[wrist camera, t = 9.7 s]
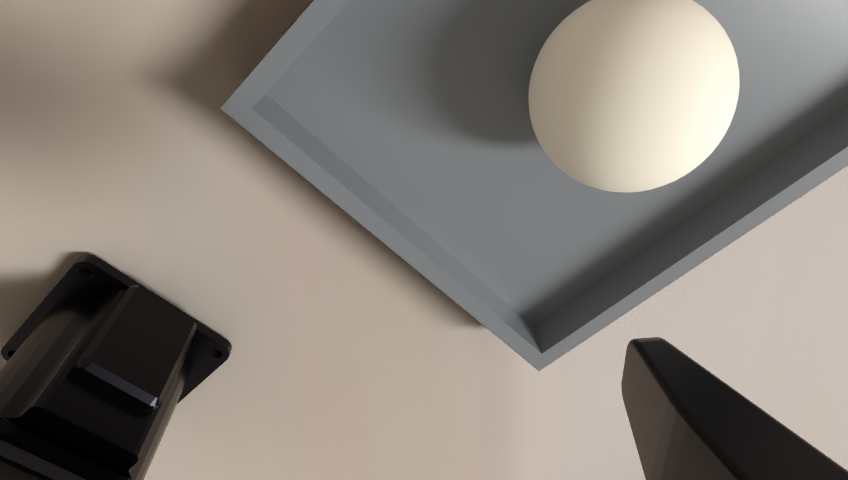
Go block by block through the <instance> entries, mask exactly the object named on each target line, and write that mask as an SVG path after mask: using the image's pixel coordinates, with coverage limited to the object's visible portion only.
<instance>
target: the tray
mask: <svg viewBox="0 0 848 480" xmlns="http://www.w3.org/2000/svg"><path fill="white" fill-rule="evenodd" d="M589 1H591V0H313V1H312V2H311V3H310V4H309V5H308V6H307V8H306V9H305V10H304V11H303V12H302V13H301V15H300V16H299V17H298V18H297V19H296V20H295V21H294V23H293V24H292V25H291V26H290V27H289V28H288V30H287V31H286V32H285V33H284V34H283V35H282V36H281V38H280V39H279V40H278V41H277V42H276V43H275V45H274V46H273V47H272V48H271V49H270V50H269V51H268V53H267V54H266V55H265V56H264V57H263V58H262V60H261V61H260V62H259V63H258V64H257V65H256V67H255V68H254V69H253V70H252V71H251V72H250V73H249V75H248V76H247V77H246V78H245V79H244V80H243V82H242V83H241V84H240V85H239V86H238V88H237V89H236V90H235V91H234V92H233V94H232V95H231V96H230V97H229V98H228V100H227V101H226V102H225V103H224V105H223V106H222V107H221V108H220V109H221V110H223V111H224V112H225V113H226V114H228V115H229V116H230V117H231V118H232V119H234V120H235V121H236V122H237V123H238V124H240V125H241V126H242V127H243V128H245V129H246V130H247V131H248V132H249V133H251V134H252V135H253V136H254V137H255V138H257V139H258V140H259V141H260V142H262V143H263V144H264V145H265V146H266V147H268V148H269V149H270V150H271V151H272V152H274V153H275V154H276V155H277V156H278V157H280V158H281V159H282V160H283V161H285V162H286V163H287V164H288V165H289V166H291V167H292V168H293V169H294V170H295V171H297V172H298V173H299V174H300V175H302V176H303V177H304V178H305V179H306V180H308V181H309V182H310V183H311V184H312V185H314V186H315V187H316V188H317V189H319V190H320V191H321V192H322V193H323V194H325V195H326V196H327V197H328V198H329V199H331V200H332V201H333V202H334V203H336V204H337V205H338V206H339V207H340V208H342V209H343V210H344V211H345V212H346V213H348V214H349V215H350V216H351V217H353V218H354V219H355V220H356V221H357V222H359V223H360V224H361V225H362V226H363V227H365V228H366V229H367V230H368V231H370V232H371V233H372V234H373V235H374V236H376V237H377V238H378V239H379V240H380V241H382V242H383V243H384V244H385V245H387V246H388V247H389V248H390V249H391V250H393V251H394V252H395V253H396V254H397V255H399V256H400V257H401V258H402V259H404V260H405V261H406V262H407V263H408V264H410V265H411V266H412V267H413V268H414V269H416V270H417V271H418V272H419V273H421V274H422V275H423V276H424V277H425V278H427V279H428V280H429V281H430V282H431V283H433V284H434V285H435V286H436V287H438V288H439V289H440V290H441V291H442V292H444V293H445V294H446V295H447V296H448V297H450V298H451V299H452V300H453V301H455V302H456V303H457V304H458V305H459V306H461V307H462V308H463V309H464V310H465V311H467V312H468V313H469V314H470V315H472V316H473V317H474V318H475V319H476V320H478V321H479V322H480V323H481V324H482V325H484V326H485V327H486V328H487V329H488V330H490V331H491V332H492V333H493V334H495V335H496V336H497V337H498V338H499V339H501V340H502V341H503V342H504V343H505V344H507V345H508V346H509V347H510V348H512V349H513V350H514V351H515V352H516V353H518V354H519V355H520V356H521V357H522V358H524V359H525V360H526V361H527V362H529V363H530V364H531V365H532V366H533V367H535V368H536V369H537V370H538V371H540V370H541V369H543V368H544V367H546V366H547V365H549V364H550V363H552V362H553V361H555V360H556V359H558V358H559V357H561V356H562V355H564V354H565V353H567V352H568V351H570V350H571V349H573V348H574V347H576V346H577V345H579V344H580V343H582V342H583V341H585V340H586V339H588V338H589V337H591V336H592V335H594V334H595V333H597V332H599V331H600V330H602V329H603V328H605V327H606V326H608V325H609V324H611V323H612V322H614V321H615V320H617V319H618V318H620V317H621V316H623V315H624V314H626V313H627V312H629V311H630V310H632V309H633V308H635V307H636V306H638V305H639V304H641V303H642V302H644V301H645V300H647V299H648V298H650V297H651V296H653V295H654V294H656V293H657V292H659V291H660V290H662V289H663V288H665V287H666V286H668V285H669V284H671V283H672V282H674V281H675V280H677V279H678V278H680V277H681V276H683V275H684V274H686V273H687V272H689V271H690V270H692V269H693V268H695V267H696V266H698V265H699V264H701V263H702V262H704V261H705V260H707V259H708V258H710V257H711V256H713V255H714V254H716V253H717V252H719V251H720V250H722V249H723V248H725V247H726V246H728V245H729V244H731V243H732V242H734V241H735V240H737V239H738V238H740V237H741V236H743V235H744V234H746V233H747V232H749V231H750V230H752V229H753V228H755V227H756V226H758V225H759V224H761V223H762V222H764V221H765V220H767V219H768V218H770V217H771V216H773V215H774V214H776V213H777V212H779V211H780V210H782V209H783V208H785V207H786V206H788V205H789V204H791V203H792V202H794V201H795V200H797V199H798V198H800V197H801V196H803V195H804V194H806V193H807V192H809V191H810V190H812V189H813V188H815V187H816V186H818V185H819V184H821V183H822V182H824V181H825V180H827V179H828V178H830V177H831V176H833V175H834V174H836V173H837V172H839V171H840V170H842V169H843V168H845V167H846V166H848V0H693V1H694V2H696V3H698V4H699V5H701V6H702V7H704V8H705V9H706V10H707V11H708V12H709V13H710V14H711V15H713V16H714V18H715V19H716V20H717V21H718V22H719V23H720V25H721V26H722V27H723V28H724V30H725V32H726V34H727V35H728V37H729V39H730V41H731V43H732V45H733V48H734V51H735V54H736V57H737V62H738V68H739V84H740V87H739V96H738V101H737V105H736V109H735V113H734V115H733V118H732V121H731V123H730V126H729V128H728V130H727V132H726V134H725V135H724V137H723V138H722V140H721V141H720V143H719V144H718V146H717V147H716V148H715V149H714V151H713V152H712V153H711V154H710V155H709V156H708V157H707V158H706V159H705V160H704V161H703V162H702V163H701V164H700V165H699V166H697V167H696V168H695V169H694V170H692V171H691V172H689V173H688V174H686V175H685V176H683V177H681V178H679V179H678V180H676V181H673V182H671V183H669V184H666V185H664V186H661V187H658V188H654V189H651V190H646V191H641V192H630V193H625V192H610V191H604V190H600V189H597V188H593V187H590V186H587V185H585V184H582V183H580V182H578V181H576V180H575V179H573V178H572V177H570V176H569V175H567V174H566V173H564V172H563V171H562V170H560V169H559V168H558V167H557V166H556V165H555V164H554V163H553V162H552V161H551V159H550V158H549V157H548V156H547V154H546V153H545V152H544V150H543V149H542V147H541V145H540V143H539V142H538V139H537V137H536V135H535V132H534V130H533V127H532V123H531V119H530V113H529V102H528V96H529V84H530V78H531V74H532V71H533V67H534V64H535V62H536V59H537V57H538V55H539V53H540V50H541V49H542V47H543V45H544V44H545V42H546V40H547V39H548V37H549V36H550V35H551V33H552V32H553V31H554V29H555V28H556V27H557V26H558V25H559V24H560V23H561V22H562V21H563V20H564V19H565V18H566V17H568V16H569V15H570V14H571V13H572V12H573V11H575V10H576V9H578V8H579V7H581V6H582V5H584V4H585V3H587V2H589Z"/></svg>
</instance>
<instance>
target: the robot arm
mask: <svg viewBox="0 0 848 480" xmlns="http://www.w3.org/2000/svg"><path fill="white" fill-rule="evenodd" d="M85 267H88V268H90V269H92V270H93V271H94V272H90V271H88V270H87V269H86V268H85ZM214 348H217V349H220V350H221V351H218V350H215V349H214ZM231 350H232V346H231V343H230V342H229V341H228V340H227V339H225V338H224V337H222V336H220V335H219V334H217V333H216V332H214V331H213V330H211V329H209V328H208V327H206V326H205V325H203V324H202V323H200V322H198V321H197V320H195V319H194V318H192V317H191V316H189V315H187V314H186V313H184V312H183V311H181V310H180V309H178V308H176V307H175V306H173V305H172V304H170V303H169V302H167V301H165V300H164V299H162V298H161V297H159V296H158V295H156V294H154V293H153V292H151V291H150V290H148V289H147V288H145V287H143V286H142V285H140V284H139V283H137V282H136V281H134V280H132V279H131V278H129V277H128V276H126V275H125V274H123V273H121V272H120V271H118V270H117V269H115V268H114V267H112V266H110V265H109V264H107V263H106V262H104V261H103V260H101V259H99V258H97V257H95V256H91V255H86V256H82V257H81V258H79V259H78V261H77V262H76V263H75V264H74V265H73V266H72V268H71V269H70V270H69V271H68V272H67V273H66V275H65V276H64V277H63V278H62V279H61V280H60V282H59V283H58V284H57V285H56V286H55V287H54V289H53V290H52V291H51V292H50V293H49V294H48V296H47V297H46V298H45V299H44V300H43V301H42V303H41V304H40V305H39V306H38V307H37V308H36V310H35V311H34V312H33V313H32V314H31V315H30V317H29V318H28V319H27V320H26V321H25V322H24V324H23V325H22V326H21V327H20V328H19V329H18V331H17V332H16V333H15V334H14V335H13V337H12V338H11V339H10V340H9V341H8V342H7V344H6V345H5V346H4V347H3V348H2V350H1V354H2V356H3V358H4V359H5V360H7V361H8V362H7V363H6V364H5V365H4V366H3V368H2V369H1V370H0V480H143V479H144V477H145V475H146V473H147V470H148V468H149V466H150V464H151V461H152V459H153V457H154V454H155V452H156V450H157V448H158V445H159V443H160V441H161V438H162V436H163V434H164V432H165V429H166V427H167V425H168V422H169V420H170V418H171V416H172V413H173V411H174V409H175V406H176V404H178V403H179V402H180V401H181V400H182V399H183V398H184V397H185V396H187V395H188V394H189V393H190V392H191V391H192V390H193V389H194V388H196V387H197V386H198V385H199V384H200V383H201V382H202V381H203V380H205V379H206V378H207V377H208V376H209V375H210V374H211V373H212V372H214V371H215V370H216V369H217V368H218V367H219V366H220V365H221V364H223V363H224V362H225V361H226V360H227V359H228V357H229V355H230V353H231ZM622 396H623V400H624V404H625V408H626V411H627V415H628V418H629V422H630V425H631V429H632V432H633V436H634V439H635V443H636V446H637V450H638V454H639V457H640V461H641V464H642V468H643V471H644V475H645V478H646V480H848V471H847V470H845V469H844V468H843V467H841V466H840V465H839V464H837V463H836V462H834V461H833V460H832V459H830V458H829V457H827V456H826V455H825V454H823V453H822V452H820V451H819V450H818V449H816V448H815V447H813V446H812V445H811V444H809V443H808V442H807V441H805V440H804V439H802V438H801V437H800V436H798V435H797V434H795V433H794V432H793V431H791V430H790V429H788V428H787V427H786V426H784V425H783V424H781V423H780V422H779V421H777V420H776V419H775V418H773V417H772V416H770V415H769V414H768V413H766V412H765V411H763V410H762V409H761V408H759V407H758V406H756V405H755V404H754V403H752V402H751V401H749V400H748V399H747V398H745V397H744V396H742V395H741V394H740V393H738V392H737V391H736V390H734V389H733V388H731V387H730V386H729V385H727V384H726V383H724V382H723V381H722V380H720V379H719V378H717V377H716V376H715V375H713V374H712V373H710V372H709V371H708V370H706V369H705V368H704V367H702V366H701V365H699V364H698V363H697V362H695V361H694V360H692V359H691V358H690V357H688V356H687V355H685V354H684V353H683V352H681V351H680V350H678V349H677V348H676V347H674V346H673V345H671V344H670V343H669V342H667V341H666V340H664V339H662V338H658V337H654V338H640V339H633V340H631V341H630V342H629V344H628V346H627V351H626V357H625V364H624V370H623V377H622Z"/></svg>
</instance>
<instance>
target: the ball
mask: <svg viewBox="0 0 848 480" xmlns="http://www.w3.org/2000/svg"><path fill="white" fill-rule="evenodd" d="M739 87H740V84H739V68H738V62H737V57H736V54H735V51H734V48H733V45H732V43H731V41H730V39H729V37H728V35H727V34H726V32H725V30H724V28H723V27H722V26H721V25H720V23H719V22H718V21H717V20H716V19H715V18H714V16H713V15H711V14H710V13H709V12H708V11H707V10H706V9H705V8H704V7H702V6H701V5H699V4H698V3H696V2H694V1H693V0H591V1H589V2H587V3H585V4H584V5H582V6H581V7H579V8H578V9H576V10H575V11H573V12H572V13H571V14H570V15H569V16H568V17H566V18H565V19H564V20H563V21H562V22H561V23H560V24H559V25H558V26H557V27H556V28H555V29H554V31H553V32H552V33H551V35H550V36H549V37H548V39H547V40H546V42H545V44H544V45H543V47H542V49H541V50H540V53H539V55H538V57H537V59H536V62H535V64H534V67H533V71H532V74H531V78H530V84H529V96H528V102H529V113H530V119H531V123H532V127H533V130H534V132H535V135H536V137H537V139H538V142H539V143H540V145H541V147H542V149H543V150H544V152H545V153H546V154H547V156H548V157H549V158H550V159H551V161H552V162H553V163H554V164H555V165H556V166H557V167H558V168H559V169H560V170H562V171H563V172H564V173H566V174H567V175H569V176H570V177H572V178H573V179H575V180H576V181H578V182H580V183H582V184H585V185H587V186H590V187H593V188H597V189H600V190H604V191H610V192H625V193H630V192H641V191H646V190H651V189H654V188H658V187H661V186H664V185H666V184H669V183H671V182H673V181H676V180H678V179H679V178H681V177H683V176H685V175H686V174H688V173H689V172H691V171H692V170H694V169H695V168H696V167H697V166H699V165H700V164H701V163H702V162H703V161H704V160H705V159H706V158H707V157H708V156H709V155H710V154H711V153H712V152H713V151H714V149H715V148H716V147H717V146H718V144H719V143H720V141H721V140H722V138H723V137H724V135H725V134H726V132H727V130H728V128H729V126H730V123H731V121H732V118H733V115H734V113H735V109H736V105H737V101H738V96H739Z"/></svg>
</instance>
